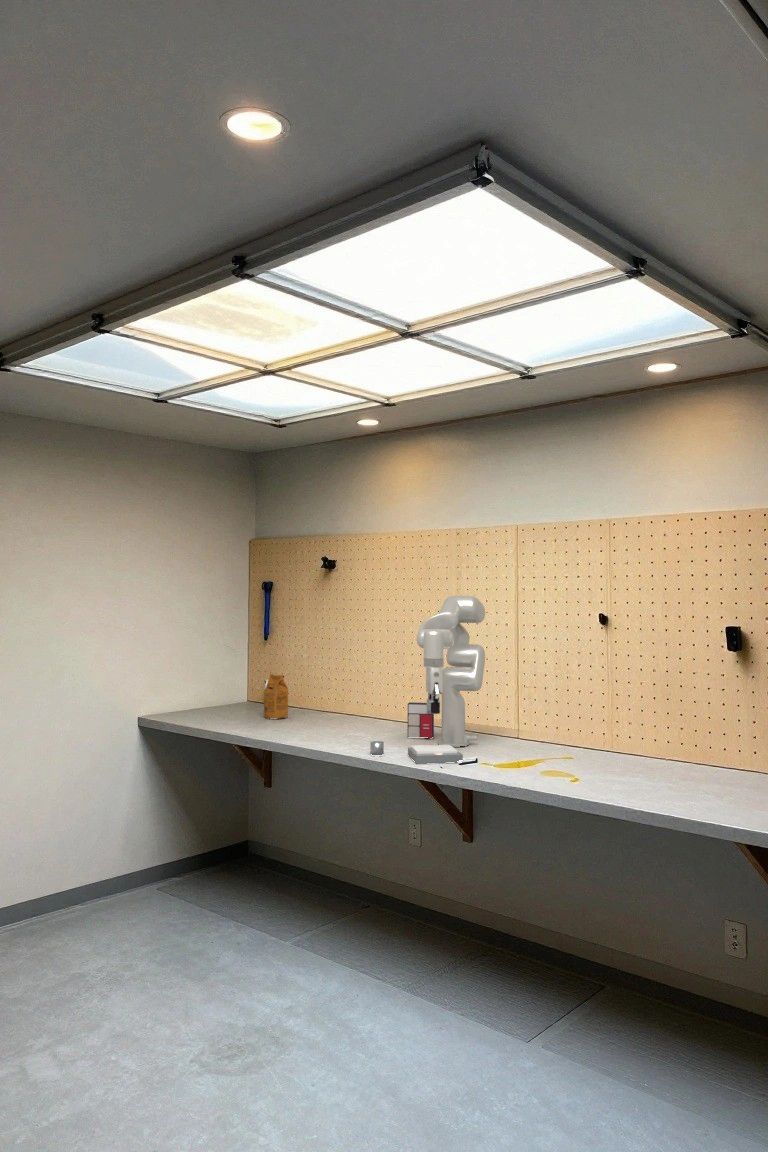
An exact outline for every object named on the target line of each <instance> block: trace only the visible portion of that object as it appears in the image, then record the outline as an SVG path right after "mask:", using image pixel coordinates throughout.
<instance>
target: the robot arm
mask: <svg viewBox="0 0 768 1152" xmlns="http://www.w3.org/2000/svg"><path fill="white" fill-rule="evenodd" d="M438 611H439V612H438V613H437V614H434V615H433V616H430V617H429V618H427V619H425V620H424V621H423V622H422V623H421V625H420V627H419V628H418V631H417V635H416V644H417V645H418V647H420V648H421V649H423V668H424V669H425V692H427V699H432V702H431V713H440V714H441V740H439V741H437V745H438V744H439V745H451V746H452V747H453V748H461V747H460V746H465V747H468V746H469V745H470V741H477V740H478V735H469V734H468V733H466V701H465V698H464V696H463V695H462V693H460V692H462V691H463V692H478V691H480V690H481V688H482V685H483V679H484V672H485V663H486V652H485V649H484V647H483V646H482V645H480V644H478V643H476V644H474V643H470V640H471V639H470V638H471V637H470V633H469V632H468V630H467V629H466V628H465V627H464V626H463V625H462V624H480V623H482V622H483V621H484V620H485V617H486V609H485V606H484V604H483V603H482V602H481V600H480V599H478V598H477V597H476V596H473V595H450V596H447V597H446V598H445V599H444V601H443V603H442V606H441V608H440V610H438ZM446 649H447V650H446ZM445 650H446V662H447V664H448V665H449V666H448V667H447V666H446V667H445V666H444V662H445V659H444V656H445V655H444V652H445ZM440 695H441V700H440V701H439V699H440ZM467 745H468V746H467Z"/></svg>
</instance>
